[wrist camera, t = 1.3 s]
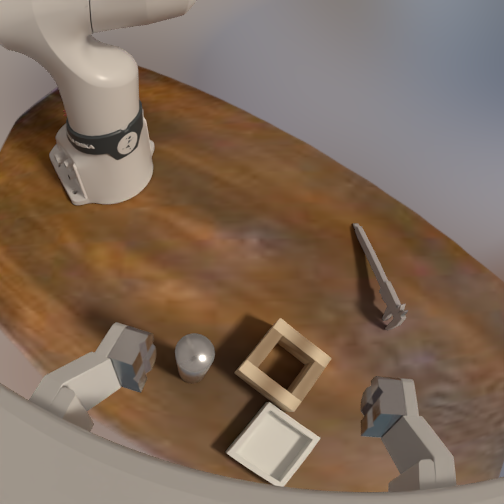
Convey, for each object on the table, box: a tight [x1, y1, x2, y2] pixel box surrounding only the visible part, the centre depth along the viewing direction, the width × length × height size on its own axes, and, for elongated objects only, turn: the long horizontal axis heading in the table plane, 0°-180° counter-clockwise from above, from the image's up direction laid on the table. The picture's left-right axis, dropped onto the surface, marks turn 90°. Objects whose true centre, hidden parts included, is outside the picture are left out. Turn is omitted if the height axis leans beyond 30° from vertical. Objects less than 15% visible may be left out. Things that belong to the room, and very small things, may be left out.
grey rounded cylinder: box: [175, 334, 215, 384], centre depth 35 cm, size 4×4×15 cm
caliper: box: [353, 223, 408, 330], centre depth 51 cm, size 20×1×6 cm, turn 10°
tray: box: [225, 402, 320, 487], centre depth 37 cm, size 9×9×2 cm
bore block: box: [234, 318, 331, 412], centre depth 42 cm, size 9×9×4 cm
